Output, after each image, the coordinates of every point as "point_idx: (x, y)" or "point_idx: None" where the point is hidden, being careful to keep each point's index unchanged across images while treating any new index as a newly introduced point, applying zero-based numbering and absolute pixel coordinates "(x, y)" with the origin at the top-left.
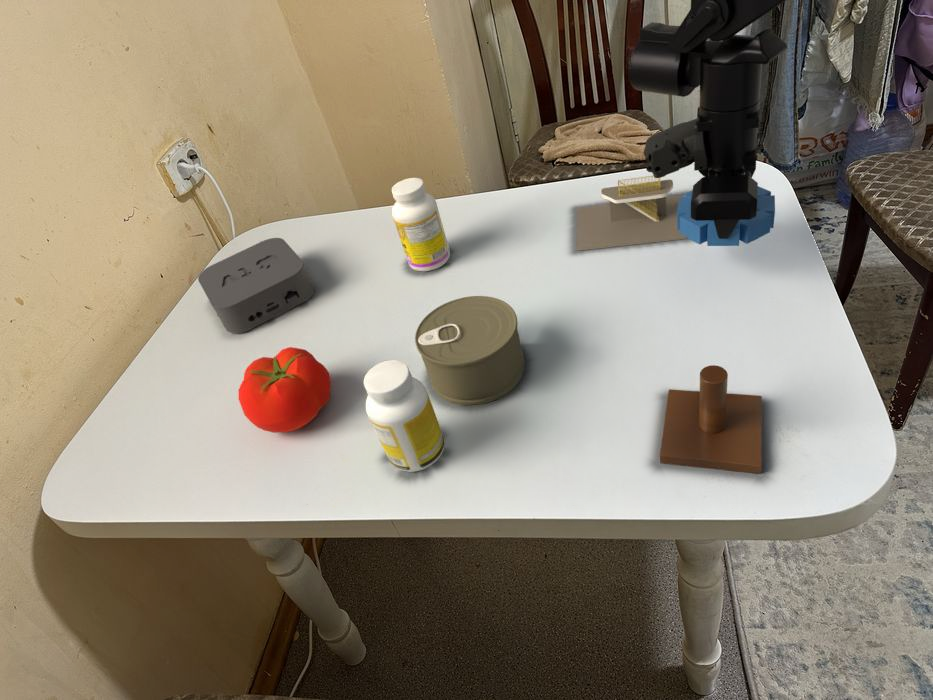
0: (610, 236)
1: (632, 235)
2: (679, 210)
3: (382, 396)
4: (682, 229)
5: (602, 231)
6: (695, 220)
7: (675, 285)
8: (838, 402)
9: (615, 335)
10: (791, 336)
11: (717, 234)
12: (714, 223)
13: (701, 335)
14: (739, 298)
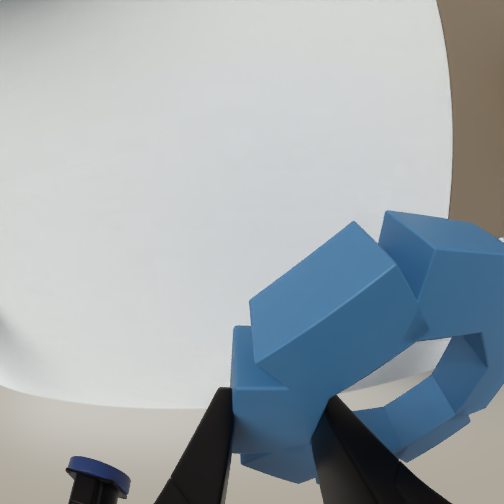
0: (475, 32)
1: (477, 78)
2: (451, 259)
3: None
4: (350, 244)
5: (488, 23)
6: (330, 342)
7: (265, 158)
8: (24, 373)
9: (66, 42)
10: (110, 360)
11: (211, 401)
12: (184, 453)
13: (76, 227)
14: (206, 301)
